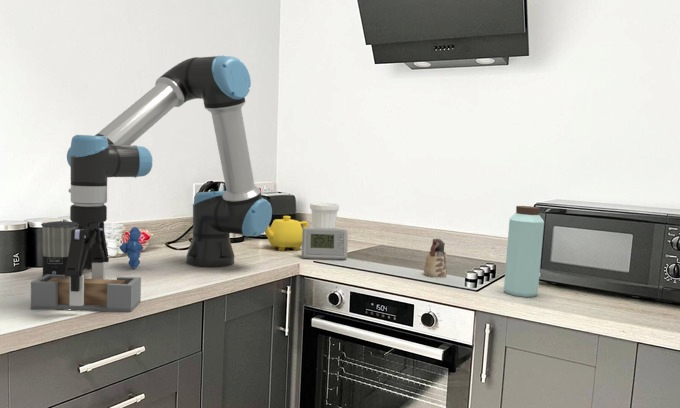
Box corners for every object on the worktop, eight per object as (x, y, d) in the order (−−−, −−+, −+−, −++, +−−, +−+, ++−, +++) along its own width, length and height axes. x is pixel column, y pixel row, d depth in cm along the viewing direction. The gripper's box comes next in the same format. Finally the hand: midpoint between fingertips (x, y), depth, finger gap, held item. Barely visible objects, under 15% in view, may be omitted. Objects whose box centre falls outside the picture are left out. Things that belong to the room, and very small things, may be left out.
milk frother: (39, 281, 148) (39, 225, 147) (44, 268, 163) (44, 217, 161) (98, 279, 154) (98, 225, 152) (98, 267, 168) (99, 217, 167)
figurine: (450, 276, 181) (453, 239, 180) (437, 279, 176) (440, 240, 175) (432, 272, 186) (435, 236, 185) (419, 274, 181) (421, 237, 180)
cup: (326, 243, 230) (328, 206, 229) (302, 239, 237) (303, 203, 236) (343, 240, 241) (345, 204, 239) (319, 236, 247) (321, 202, 246)
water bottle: (497, 288, 168) (504, 204, 165) (529, 289, 168) (537, 206, 166) (510, 297, 158) (517, 208, 155) (544, 298, 158) (552, 209, 156)
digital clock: (299, 259, 196) (300, 228, 195) (303, 254, 205) (305, 225, 204) (346, 262, 195) (347, 231, 194) (348, 257, 204) (349, 228, 203)
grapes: (119, 263, 175) (120, 224, 174) (143, 262, 177) (143, 224, 176) (117, 271, 164) (118, 230, 163) (142, 271, 166) (143, 230, 165)
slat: (124, 301, 132) (125, 280, 131) (119, 305, 128) (119, 284, 127) (54, 298, 131) (54, 277, 130) (46, 303, 127) (46, 281, 126)
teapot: (252, 246, 215) (253, 214, 214) (299, 244, 226) (300, 213, 224) (266, 253, 204) (267, 218, 203) (315, 250, 214) (316, 218, 213)
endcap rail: (140, 302, 134) (140, 277, 134) (130, 311, 126) (131, 285, 126) (46, 299, 132) (46, 274, 132) (30, 309, 124) (30, 282, 124)
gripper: (91, 198, 139) (90, 283, 141) (47, 209, 114) (47, 312, 116) (122, 199, 140) (121, 284, 142) (85, 211, 115) (84, 313, 117)
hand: (87, 297), depth 129 cm, fingers open, 13 cm apart
